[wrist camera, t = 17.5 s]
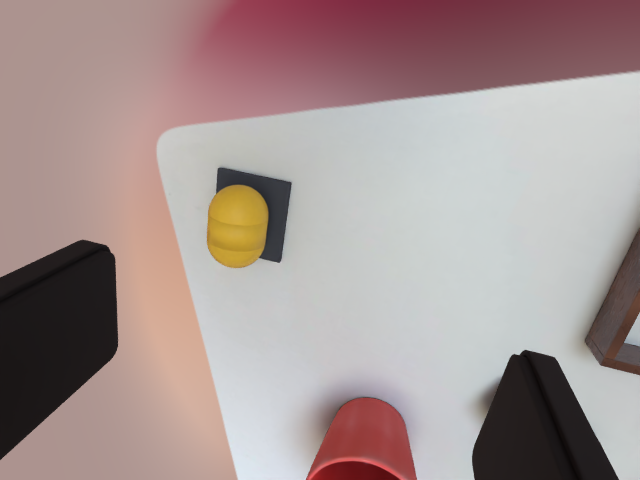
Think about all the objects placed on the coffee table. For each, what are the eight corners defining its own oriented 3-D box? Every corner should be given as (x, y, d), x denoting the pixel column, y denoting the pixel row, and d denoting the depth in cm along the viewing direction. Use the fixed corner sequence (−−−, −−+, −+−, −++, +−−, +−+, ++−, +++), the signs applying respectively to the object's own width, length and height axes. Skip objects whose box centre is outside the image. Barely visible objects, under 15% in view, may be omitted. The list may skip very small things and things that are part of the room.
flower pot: (434, 403, 43) (439, 486, 34) (403, 475, 47) (401, 565, 38) (335, 371, 44) (316, 443, 35) (314, 444, 48) (292, 525, 40)
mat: (220, 167, 39) (217, 168, 38) (291, 182, 38) (290, 183, 38) (215, 244, 42) (212, 247, 41) (281, 260, 41) (279, 263, 41)
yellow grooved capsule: (226, 173, 39) (198, 186, 34) (279, 185, 38) (258, 200, 33) (221, 248, 41) (194, 269, 37) (270, 260, 41) (249, 284, 36)
